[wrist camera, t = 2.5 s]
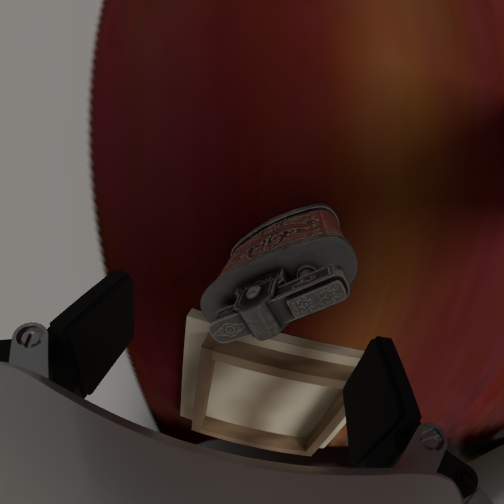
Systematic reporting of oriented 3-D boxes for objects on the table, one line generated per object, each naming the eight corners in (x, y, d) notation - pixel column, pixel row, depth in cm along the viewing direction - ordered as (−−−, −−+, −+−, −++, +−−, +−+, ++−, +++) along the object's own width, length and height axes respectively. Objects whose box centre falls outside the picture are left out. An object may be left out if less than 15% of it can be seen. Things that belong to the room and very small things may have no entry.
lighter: (247, 280, 21) (208, 374, 12) (224, 242, 20) (166, 319, 11) (345, 235, 19) (381, 317, 10) (325, 192, 18) (351, 240, 9)
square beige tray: (387, 354, 22) (394, 379, 19) (323, 440, 28) (323, 460, 25) (191, 308, 23) (177, 329, 20) (183, 408, 29) (174, 427, 26)
